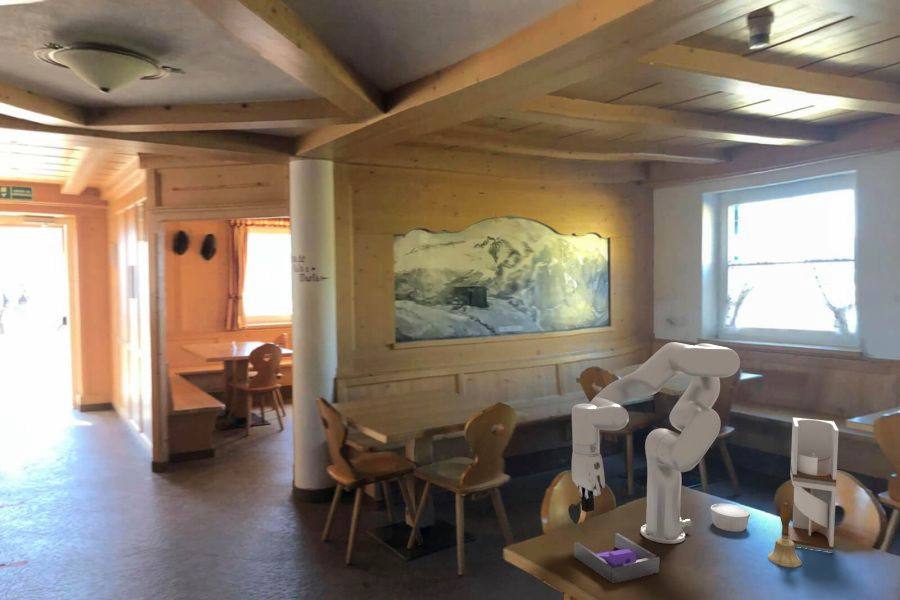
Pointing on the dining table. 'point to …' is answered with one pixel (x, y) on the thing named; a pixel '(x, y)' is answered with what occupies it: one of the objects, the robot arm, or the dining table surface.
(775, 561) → the hand bell
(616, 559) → the bracket
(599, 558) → the tray
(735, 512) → the ramekin
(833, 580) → the dining table surface
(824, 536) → the display case
